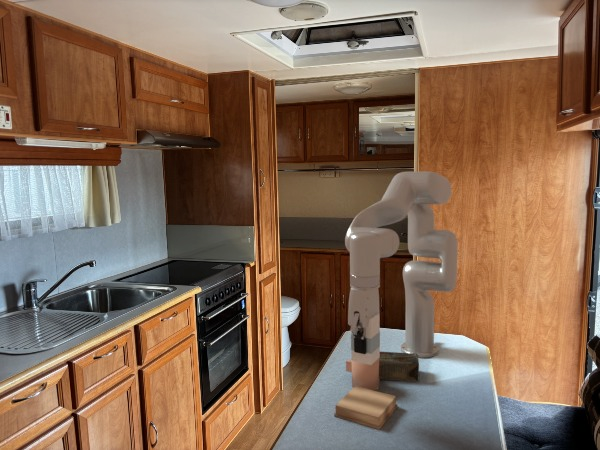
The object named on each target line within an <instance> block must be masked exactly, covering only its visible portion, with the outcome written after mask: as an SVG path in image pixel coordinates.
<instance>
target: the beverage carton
mask: <svg viewBox="0 0 600 450" xmlns="http://www.w3.org/2000/svg"><path fill="white" fill-rule="evenodd" d="M384 379H385V380H386V381H387V380H388V381H401V380H403V381H404V382H405V381H407V382H419V381H420V362H419V357H418V354H411V353H403V352H395V351H393V352H392V351H380V357H379V380H384ZM385 380H384V381H385Z"/></svg>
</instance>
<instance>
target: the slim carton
mask: <svg viewBox="0 0 600 450" xmlns="http://www.w3.org/2000/svg"><path fill="white" fill-rule="evenodd" d="M380 317H381V316H380V312H379V313H377V314H375V315H374V316H373V317H371V318H370V319H369V323H368V327H366V333H365V339H366V354H361V353H356V352H354V338H353V333H352V332H351V331H350V350H351V352H350V353H351V361H355V362H359V363H364V364H368V365H372V364H373V363H374V362H375V361H376V360H377V359H378V358H379V357H380V352H381V351H380V350H381V349H380V346H381V331H380V328H381V327H380V323H381V322H380ZM358 326H362V324H359V325H358ZM358 330H359V331H360V332H361V333H362V329H360V328H358Z"/></svg>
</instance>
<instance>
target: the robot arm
mask: <svg viewBox="0 0 600 450" xmlns="http://www.w3.org/2000/svg"><path fill="white" fill-rule="evenodd" d="M451 197H452V185H451V183H450V181H449V179H448V178H447V177H445V176H443V175H442V174H440V173H438V172H434V171H401V172H399V173H396V174H395V175H394V176H393V177H392V179H391V181H390V183H389V184H388V186H387V188H386V190H385V193H384V194H383V196H382V198H381V199H380V201H377V202H375V203H373V204H371V205H369V206H368V207H367V208H364V209H363V210H361V211H360V212H359V213H358V214H356V216H355V217H354V218H353V220H352V222H351V224H350V225H349V227H348V229H347V231H346V234H345V237H344V245H345V248H346V250H347V251H348V252H349V286H350V289H349V290H350V291H349V298H348V311H347V313H348V314H347V325H349V326H350V333H351V332H352V333H353V338H354V352H356V353H361V354H366V339H365V333H366V327H368V323H369V319H370V318H371V317H373V316H374V315H375V314H377V313H380V293H379V291H380V289H379V288H380V287H381V277H380V276H381V273H380V272H381V270H380V269H381V267H380V266H381V258H389V257H392V256H393V255H395V254H396V253H397V251H398V250H399V247H400V237H399V235H398V233H397V232H396V231H394V229H390V228H385V226H388V225H392V224H395V223H398V222H400V221H403V220H405V218H406V217H407V249H408V252H409V254H410V255H412V256H414V257H419V258H428V259H437V260H439V261H440V262H439V261H438V262H437V261H429V260H417V259H416V260H410V261H407V262H406V263H405V264H404V265H403V268H402V279H403V286H404V292H405V293H404V294H405V342H403V343H402V344H401V345H400V351H401V353H411V354H418V358H424V359H425V358H431V357H432V358H433V357H434V356H436V355H438V353H439V346H437V345H436V344H435V299H434V298H433V297H434V296H433V295H432V293H431V292H430V291H433V292H440V293H441V292H442V293H450V292H453V290H455V288H456V286H457V279H458V252H459V251H458V248H459V247H458V239H457V236H456V234H455V233H454V232H453V231H451V230H449V229H448V230H447V229H436V228H435V213H434V211H433V209H432V207H431V205H437V206H438V205H439V206H440V205H445V204H447V203H448V202H449V201H450V199H451ZM383 226H384V228H383ZM381 227H382V228H381ZM359 324H362V326H358V325H359ZM358 328H360V329H362V333H361V332H360V331H359V330H358Z"/></svg>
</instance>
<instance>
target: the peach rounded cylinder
mask: <svg viewBox="0 0 600 450" xmlns="http://www.w3.org/2000/svg"><path fill="white" fill-rule="evenodd" d="M345 371H346V372H348V373H351V387H352V389H353V388H354V387H355V386H357V387H361V388H365V389H369V390H373V391H378V389H380V379H379V358H378V359H377V360H376V361H375V362H374V363H373V364H372V365H368V364H364V363H359V362H355V361H352V360H351V359H346V360H345Z"/></svg>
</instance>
